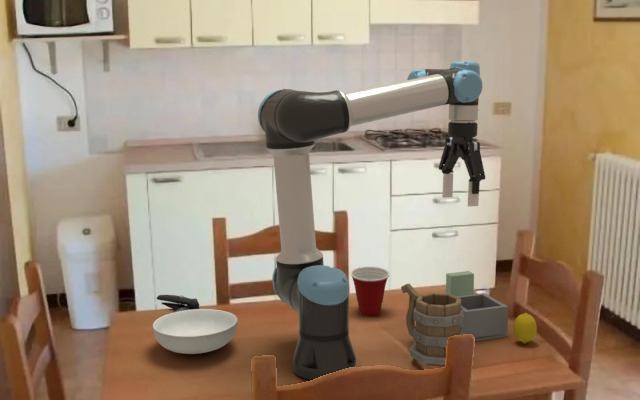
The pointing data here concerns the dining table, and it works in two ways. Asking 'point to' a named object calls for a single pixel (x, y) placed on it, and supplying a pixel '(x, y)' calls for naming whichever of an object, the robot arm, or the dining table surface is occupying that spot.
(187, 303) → the black stapler
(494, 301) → the parts tub
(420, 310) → the tankard
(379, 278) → the plastic cup
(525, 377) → the dining table surface
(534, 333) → the lemon
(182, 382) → the dining table surface
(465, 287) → the lid
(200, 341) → the serving bowl
